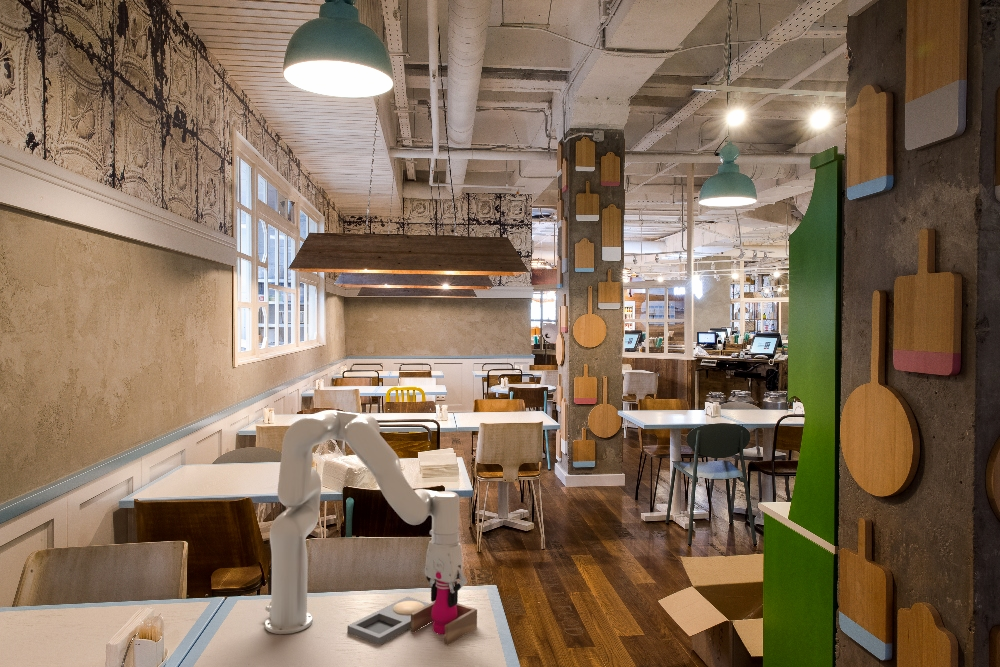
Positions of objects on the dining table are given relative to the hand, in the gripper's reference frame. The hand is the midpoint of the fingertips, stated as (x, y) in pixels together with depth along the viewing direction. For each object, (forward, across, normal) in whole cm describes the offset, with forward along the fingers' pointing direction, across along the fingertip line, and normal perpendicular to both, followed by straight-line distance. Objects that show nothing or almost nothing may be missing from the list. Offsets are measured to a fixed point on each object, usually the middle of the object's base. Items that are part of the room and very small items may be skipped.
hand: (444, 602), depth 178 cm
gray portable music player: (+8, -14, -5) cm, 17 cm away
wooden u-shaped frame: (+8, 0, 0) cm, 8 cm away
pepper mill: (+8, 0, 0) cm, 8 cm away
